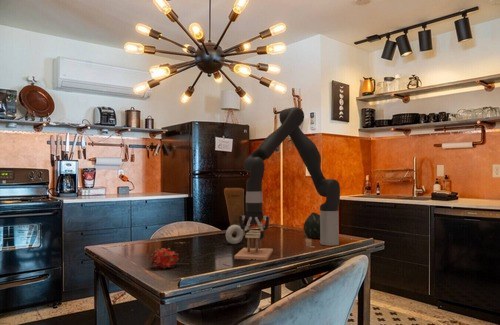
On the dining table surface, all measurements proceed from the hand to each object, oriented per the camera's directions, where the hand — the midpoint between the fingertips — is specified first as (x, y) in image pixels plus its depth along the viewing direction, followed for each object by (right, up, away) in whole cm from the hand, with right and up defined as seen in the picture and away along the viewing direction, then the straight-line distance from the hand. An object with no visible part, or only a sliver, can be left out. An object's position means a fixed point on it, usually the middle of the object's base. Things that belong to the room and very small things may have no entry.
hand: (254, 238), depth 166 cm
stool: (0, -5, 0) cm, 5 cm away
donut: (-10, -8, +25) cm, 28 cm away
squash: (+36, -8, +43) cm, 57 cm away
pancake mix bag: (-11, -9, +56) cm, 58 cm away
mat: (0, -7, 0) cm, 7 cm away
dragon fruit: (-35, -7, -21) cm, 42 cm away
